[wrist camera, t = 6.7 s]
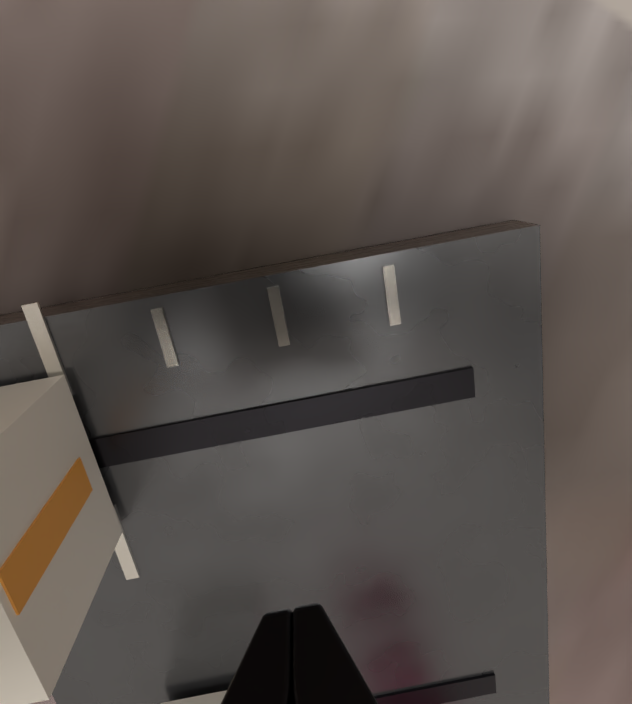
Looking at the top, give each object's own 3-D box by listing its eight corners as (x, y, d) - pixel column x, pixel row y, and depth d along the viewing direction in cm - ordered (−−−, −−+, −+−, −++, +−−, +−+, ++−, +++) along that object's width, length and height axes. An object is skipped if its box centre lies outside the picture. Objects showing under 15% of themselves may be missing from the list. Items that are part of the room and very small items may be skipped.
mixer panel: (513, 205, 14) (540, 209, 13) (531, 694, 21) (551, 734, 19) (-87, 316, 14) (-131, 333, 12) (124, 774, 21) (112, 821, 19)
